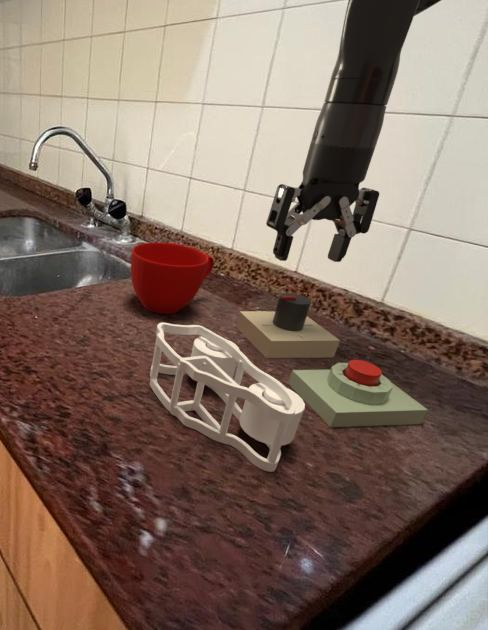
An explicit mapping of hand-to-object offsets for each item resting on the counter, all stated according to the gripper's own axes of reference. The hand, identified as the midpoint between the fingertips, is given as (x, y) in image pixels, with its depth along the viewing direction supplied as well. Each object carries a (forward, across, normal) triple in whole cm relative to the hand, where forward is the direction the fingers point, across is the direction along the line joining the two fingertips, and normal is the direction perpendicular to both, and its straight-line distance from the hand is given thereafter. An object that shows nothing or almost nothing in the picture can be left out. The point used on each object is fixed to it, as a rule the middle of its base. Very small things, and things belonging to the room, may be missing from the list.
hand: (307, 259), depth 66 cm
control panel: (+14, 0, 0) cm, 14 cm away
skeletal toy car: (+14, -19, -17) cm, 29 cm away
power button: (+10, 0, -16) cm, 19 cm away
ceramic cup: (+14, -14, +14) cm, 24 cm away
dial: (+11, 0, 0) cm, 11 cm away
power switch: (+14, 0, -16) cm, 21 cm away
